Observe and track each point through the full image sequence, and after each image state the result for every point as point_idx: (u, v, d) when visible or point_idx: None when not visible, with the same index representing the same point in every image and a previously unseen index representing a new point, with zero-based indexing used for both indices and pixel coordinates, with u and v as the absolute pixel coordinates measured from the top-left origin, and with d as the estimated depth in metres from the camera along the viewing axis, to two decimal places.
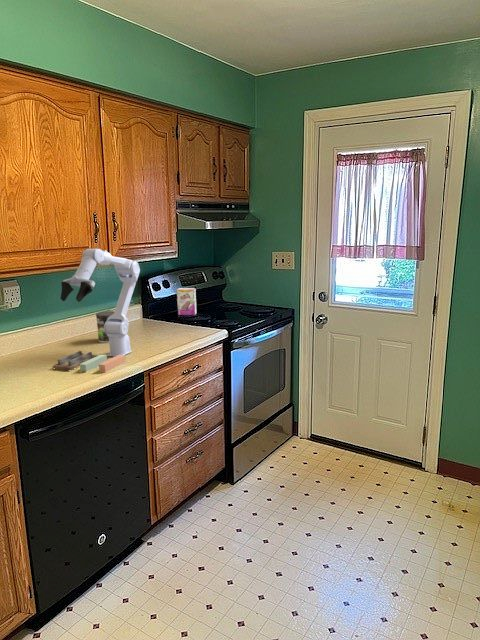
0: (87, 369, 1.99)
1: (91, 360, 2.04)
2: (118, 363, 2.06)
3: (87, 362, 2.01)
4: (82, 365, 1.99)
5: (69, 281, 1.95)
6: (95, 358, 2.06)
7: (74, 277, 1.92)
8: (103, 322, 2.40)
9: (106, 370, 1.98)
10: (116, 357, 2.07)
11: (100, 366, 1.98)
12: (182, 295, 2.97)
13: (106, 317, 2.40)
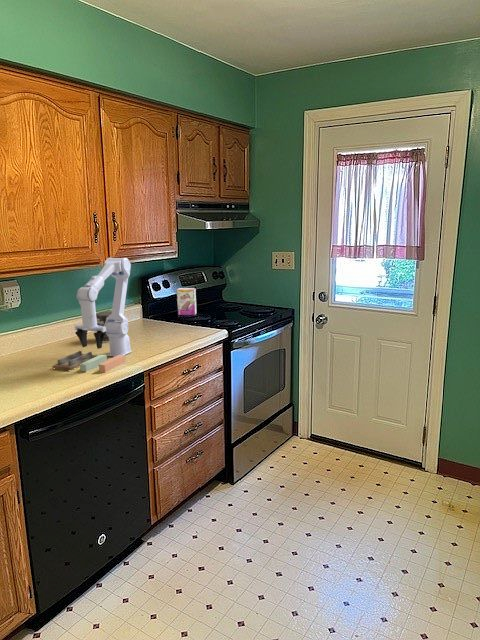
0: (87, 369, 1.99)
1: (91, 360, 2.04)
2: (118, 363, 2.06)
3: (87, 362, 2.01)
4: (82, 365, 1.99)
5: None
6: (95, 358, 2.06)
7: (85, 329, 1.99)
8: (103, 322, 2.40)
9: (106, 370, 1.98)
10: (116, 357, 2.07)
11: (100, 366, 1.98)
12: (182, 295, 2.97)
13: (106, 317, 2.40)
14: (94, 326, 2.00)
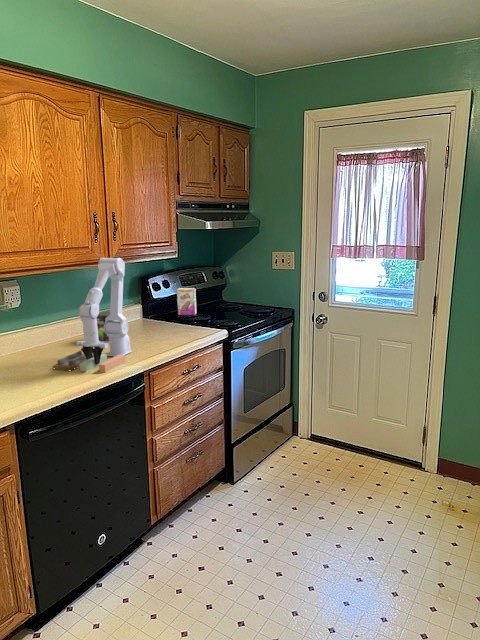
0: (87, 368, 1.99)
1: (91, 359, 2.04)
2: (118, 363, 2.06)
3: (87, 361, 2.01)
4: (82, 364, 1.99)
5: None
6: None
7: None
8: (103, 322, 2.40)
9: (106, 370, 1.98)
10: (116, 357, 2.07)
11: (100, 366, 1.98)
12: (182, 295, 2.97)
13: None
14: (96, 343, 2.02)
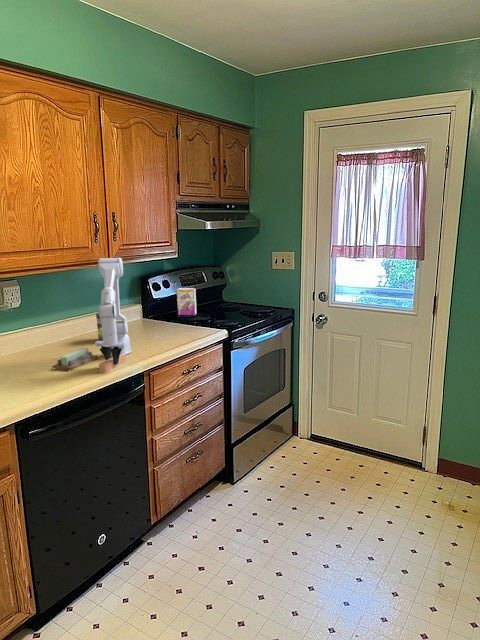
0: None
1: (72, 353, 2.08)
2: (118, 363, 2.05)
3: (68, 355, 2.05)
4: (63, 358, 2.03)
5: None
6: (76, 351, 2.11)
7: None
8: None
9: (106, 370, 1.98)
10: None
11: (100, 366, 1.98)
12: (182, 295, 2.97)
13: None
14: (115, 343, 2.00)
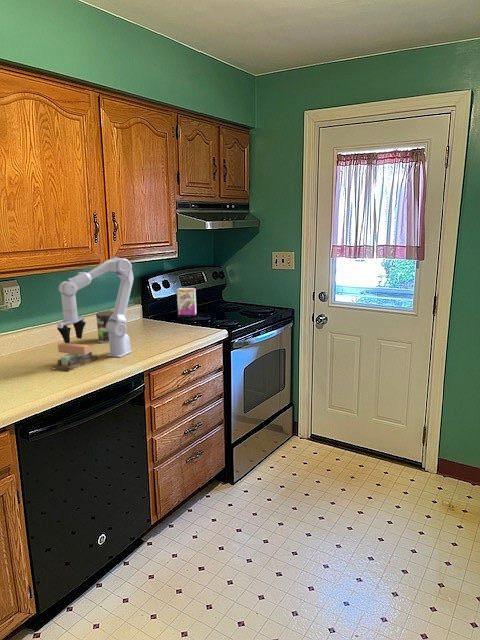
0: None
1: None
2: (74, 351, 2.07)
3: (68, 355, 2.05)
4: (63, 358, 2.03)
5: None
6: None
7: None
8: (103, 322, 2.40)
9: (59, 350, 2.10)
10: (80, 345, 2.08)
11: None
12: (182, 295, 2.97)
13: (106, 317, 2.40)
14: (65, 320, 2.04)
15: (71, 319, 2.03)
